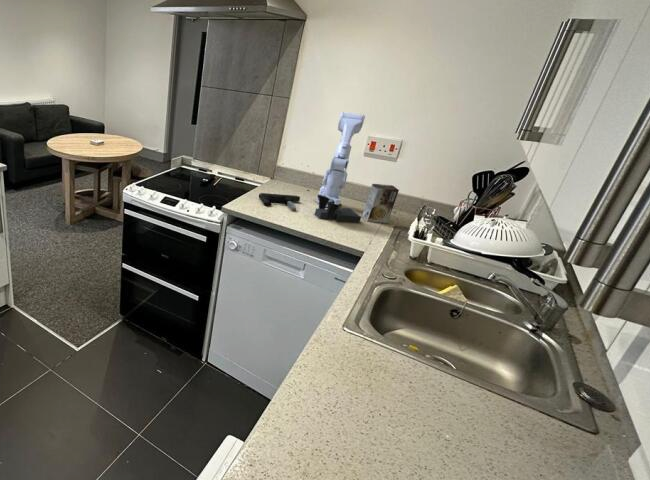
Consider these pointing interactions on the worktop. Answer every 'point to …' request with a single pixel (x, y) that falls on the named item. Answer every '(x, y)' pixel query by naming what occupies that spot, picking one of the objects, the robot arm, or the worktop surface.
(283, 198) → the door handle
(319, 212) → the pad
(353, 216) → the notch pad
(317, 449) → the worktop surface
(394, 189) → the coffee box
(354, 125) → the robot arm
